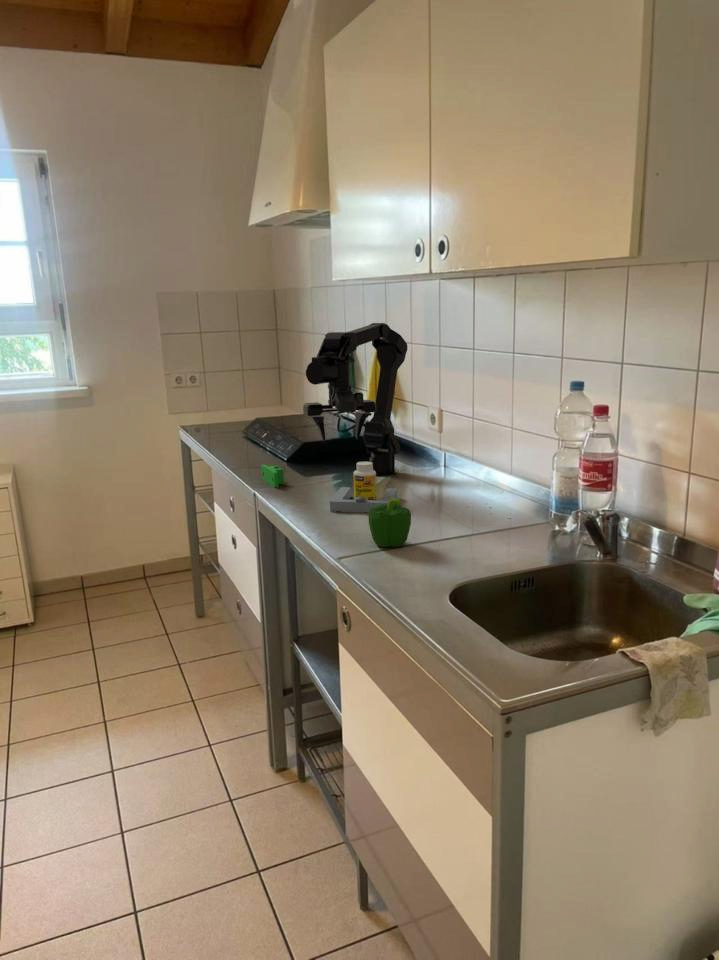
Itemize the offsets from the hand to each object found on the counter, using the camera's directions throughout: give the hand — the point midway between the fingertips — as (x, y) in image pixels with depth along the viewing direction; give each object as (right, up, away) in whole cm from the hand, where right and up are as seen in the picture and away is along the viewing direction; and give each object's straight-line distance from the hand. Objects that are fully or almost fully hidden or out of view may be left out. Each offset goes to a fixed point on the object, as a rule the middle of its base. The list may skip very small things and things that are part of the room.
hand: (340, 440), depth 193 cm
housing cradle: (+6, -17, -14) cm, 23 cm away
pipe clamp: (-19, -12, +9) cm, 24 cm away
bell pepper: (+11, -24, -44) cm, 52 cm away
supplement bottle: (+6, -17, -13) cm, 22 cm away
